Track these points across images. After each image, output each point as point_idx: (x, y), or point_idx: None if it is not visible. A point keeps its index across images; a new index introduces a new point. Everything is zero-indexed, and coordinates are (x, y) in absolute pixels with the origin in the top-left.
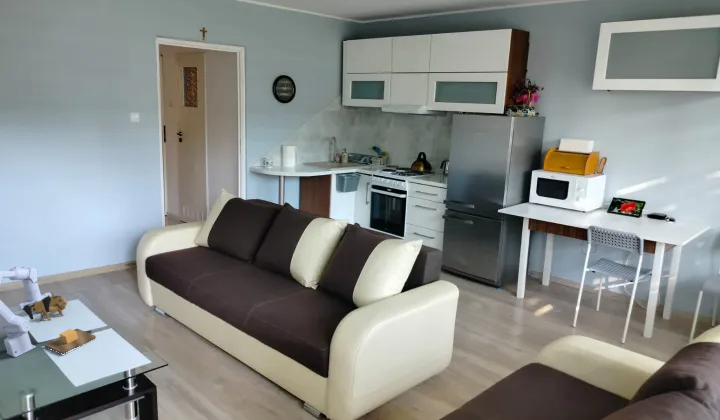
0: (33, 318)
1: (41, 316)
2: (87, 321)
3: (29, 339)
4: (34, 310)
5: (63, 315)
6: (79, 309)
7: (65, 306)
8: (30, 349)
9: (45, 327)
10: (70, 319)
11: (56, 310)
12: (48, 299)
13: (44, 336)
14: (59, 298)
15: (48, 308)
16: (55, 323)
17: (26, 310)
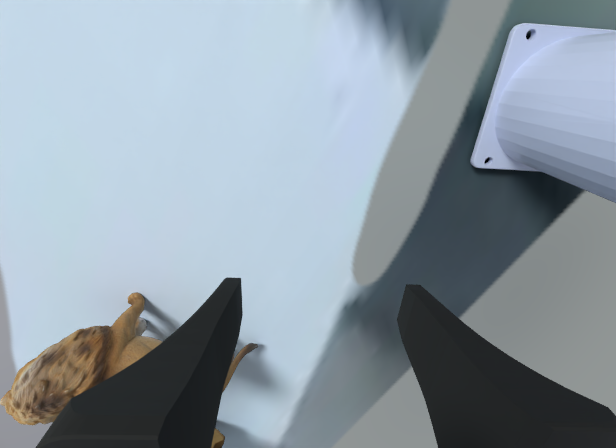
0: (408, 287)
1: (233, 367)
2: (23, 6)
3: (581, 59)
4: (218, 443)
5: (133, 294)
6: (24, 276)
7: (69, 335)
8: (561, 26)
9: (275, 260)
10: (122, 203)
11: (140, 343)
12: (105, 436)
13: (358, 146)
14: None
15: (215, 302)
16: (213, 249)
17: (599, 409)
